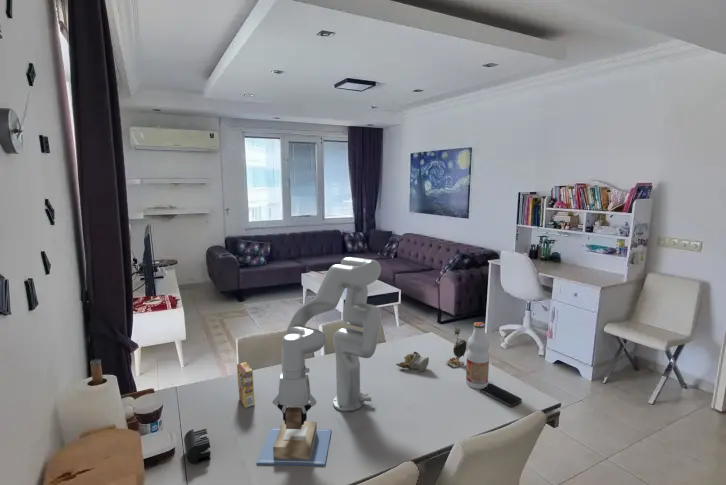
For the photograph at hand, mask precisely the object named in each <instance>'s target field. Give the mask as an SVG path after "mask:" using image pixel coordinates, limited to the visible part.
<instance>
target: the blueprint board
mask: <svg viewBox="0 0 726 485" xmlns="http://www.w3.org/2000/svg"><path fill="white" fill-rule="evenodd" d="M280 428H281V427H279V428H278V427H271V428H270V430H269V432H268V435H267V437H266V439H265V442H264V444H263V446H262V449H261V451H260V453H259V456H258V458H257V461H256V465H267V466H268V465H270V466H271V465H272V466H311V467H312V466H313V467H316V466H317V467H319V466H322V467H325V466H326V462H327V457H328V450H329V444H330V440H331V435H332V429H331V428H317V433H316V438H315V442H314V446H313V450H312V454H311V459H274V457H273V446H274V443H275V441H276V438H277V436H278V433H279V430H280Z"/></svg>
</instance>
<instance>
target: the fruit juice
mask: <svg viewBox="0 0 726 485" xmlns="http://www.w3.org/2000/svg"><path fill="white" fill-rule="evenodd" d="M472 326H473V331H472V334H471V335H470V336H469V338H468V339H467V345H468V346H467V347H468V348H467V350H466V351H467V353H466V365H465V366H466V367H465V368H466V369H465V370H466V373H465V383H466V385H467V386H468V387H470V388H473V389H475V390H476V389H477V390H482V389H485V387H486V388H487V387H488V384H489V366H490V354H489V349H490V340H489V339H488V337H487V334H486V331H485V329H486V324H485V323H484V322H481V321H480V322H473V325H472Z"/></svg>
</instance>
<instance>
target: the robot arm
mask: <svg viewBox="0 0 726 485" xmlns="http://www.w3.org/2000/svg"><path fill="white" fill-rule="evenodd" d="M381 273H382V266H381V265H380V262H379V261H378V260H376V259H372V258H371V259H370V258H361V257H355V256H348V257H347V256H346V257H344V258H342V259H341V261H340V264H339V263H337V264H332V265H331V266H330V267H329V269H328V270H327V271H326V274H325V276H324V278H323V280H322V282H321V284H320V286H319V288H318V291H317V292H316V295H315V296H314V298H312V299H311V300H309V301H307V302H306V303H305V304H304V305H302V306H301V307H300V308H299V309H297V311H296V312H295V313H294V315H293V316H292V318H291V320H290V322H289V324H288V327H287V329H286V332H285V335H283V337H282V338H281V341H280V342H281V346H280V347H281V374H280V377H279V383H278V393H277V395H276V397H275V398H274V399H273V400H272V404H273V405H274V406H276V407H277V408H278V409H279V410H280V411H281V413H282V421H285V424H286V410H287V407H288V405H289V406H301V409H302V414H301V421H302V425H304V422H305V421H307V418H308V415H307V413H308V411H310V410H311V408H312V407H314V406H315V405H316V404H317V400H316V398H315V397H314V396H313V395H312V393H311V385H310V379H309V375H308V373H310V368H307V367H306V355H308V354H312V353H316V352H319V351H320V350H321V349H323V347H324V346H325V343H326V340H327V339H326V335H325V333H324V332H323V331H322V330H320V329H316V328H313V327H309V326H306V325H307V323H308V322H309V321H310V320H311V319H312V318H313V317H315V316H317V315H320V314H324V313H327V312H330V311H333V310H335V309H336V308H337V306H338V304H339V302H340V300H341V299H342V298H341V297H342V296H343V293H344V291H345V289H347V290H346V295H345V300H344V305H343V310H342V321H343V322H344V324H346V325H349V326H353V327H357V328H360V329H363V330H357V329H354V328H348V327H342V328H339V329H337V330H336V331H335V333H334V334H333V337H332V338H333V339H332V341H333V343H332V344H333V349H334V353H335V366H336V373H335V374H336V396H335V397H333V400H332V405H333V407H334V408H335V409H336V410H338V411H340V412H346V413H348V412H356V411H358V410H360V409H361V408H362V407H363V406H364V404H365V402H372V395H370V396H369V393H363V392H362V389H361V363H360V362H361V361H360V358H361V359H370V358H372V356H373V355H374V354H375V351H376V349H377V345H378V338H379V336H380V335H379V334H380V329H381V323H382V313H381V310H380V308H379V307H378V306H376V305H375V304H369V303H367V301H368V294H369V289H368V286H369V285H371V284H372V283H374V282H376V281H377V280H378V279H379V278H380V275H381Z"/></svg>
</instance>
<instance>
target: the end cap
mask: <svg viewBox="0 0 726 485" xmlns="http://www.w3.org/2000/svg"><path fill="white" fill-rule="evenodd" d="M207 430H208V429H207V428H202V429H199V430H196V431H194V428H193V429H190V430H188V431H187V432H186V434H185V435H184V438H183V443H184V448H185V454H186V460H187V462H189V463H191V464H197V465H198V464H201V463H205V462H208V461H210V460H211V455H212V454H211V450H210V448H211V444H210V438H209V437H208V436H207V434H208V431H207Z"/></svg>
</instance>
